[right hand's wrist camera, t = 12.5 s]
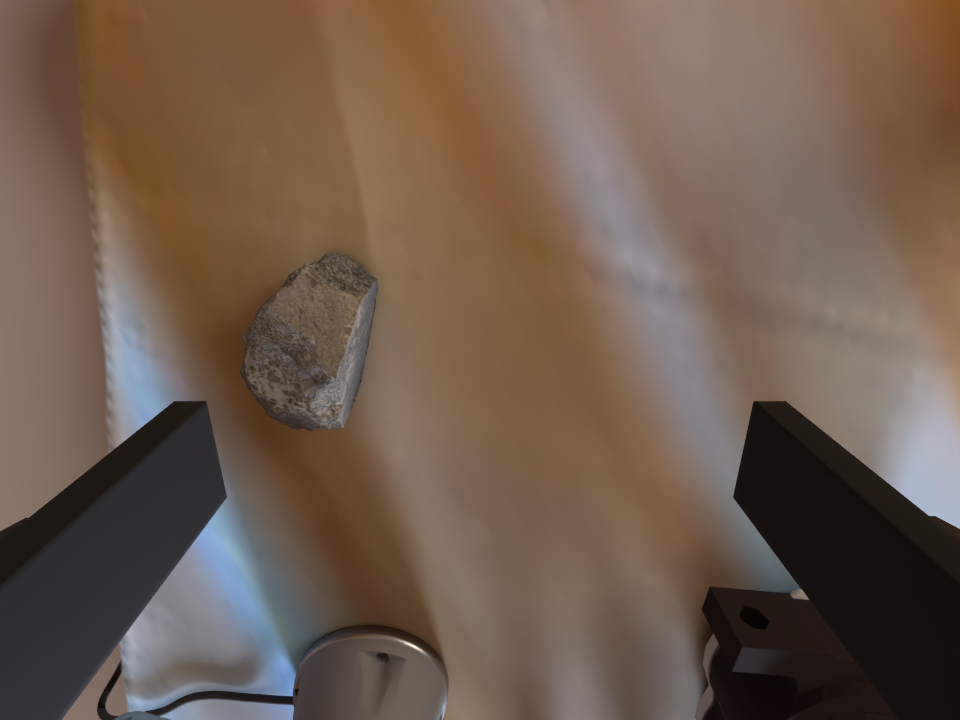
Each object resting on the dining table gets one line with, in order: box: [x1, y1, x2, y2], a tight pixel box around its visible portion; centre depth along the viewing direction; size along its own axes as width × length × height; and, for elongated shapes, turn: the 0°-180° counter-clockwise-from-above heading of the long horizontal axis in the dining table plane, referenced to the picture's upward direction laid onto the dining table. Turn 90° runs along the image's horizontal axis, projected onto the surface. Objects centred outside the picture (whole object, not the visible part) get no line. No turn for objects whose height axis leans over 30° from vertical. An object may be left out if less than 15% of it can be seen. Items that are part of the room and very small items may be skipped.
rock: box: [240, 252, 378, 431], centre depth 36 cm, size 13×9×6 cm, turn 165°
